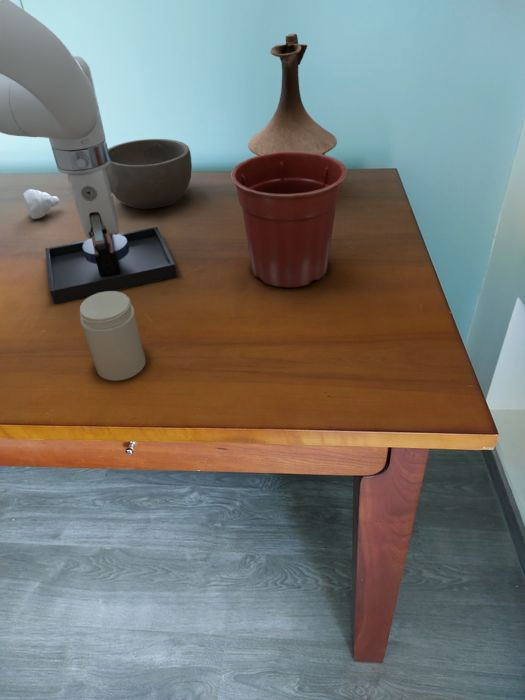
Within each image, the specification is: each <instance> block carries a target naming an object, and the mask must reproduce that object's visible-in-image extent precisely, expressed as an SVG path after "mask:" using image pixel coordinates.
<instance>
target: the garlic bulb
mask: <svg viewBox="0 0 525 700" xmlns="http://www.w3.org/2000/svg"><path fill="white" fill-rule="evenodd" d="M22 196H23V199H24V203H25V205H26V208H27V211H28V213H29V216H30V217H31V219H33V220H37V219H41V218H43V217H44V216H46V215H48V213H49V212H50V211H51V210H52V208H54V207H55V206H57V205H59V203H60V199H59V197H58V196H56V195H53V196H52V195H51V194H49V193H48V192H44V191H40V190H38V189H31V188H29V189H27V190H26V191H25V192H24V193H22Z"/></svg>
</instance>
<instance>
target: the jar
mask: <svg viewBox="0 0 525 700" xmlns="http://www.w3.org/2000/svg"><path fill="white" fill-rule="evenodd" d="M79 316H80V324H81V327H82V331H83V334H84V337H85V340H86V343H87V346H88V349H89V352H90V354H91V358H92V362H93V365H94V368H95V371H96V373H97V374H98V376H99V377H100V378H102V379H104V380H106V381H114V382H116V381H117V382H118V381H123V380H128V379H131V378H132V377H135V376H136V375H138V374H139V373H141V372H142V370H143V369H144V367H145V366H146V362H147V358H146V354H145V349H144V345H143V342H142V341H143V340H142V337H141V333H140V329H139V325H138V324H139V323H138V321H137V316H136V311H135V308H134V306H133V305H132V304H131V298H130V297H129V296H128V295H126V294H125V293H123V292H121V291H118V290H114V291H105V292H100V293H97V294H94V295H92V296H87V297H86V298H85V299H84V300H83V301H82V302H81V304H80V306H79Z"/></svg>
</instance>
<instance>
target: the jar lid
mask: <svg viewBox="0 0 525 700" xmlns="http://www.w3.org/2000/svg"><path fill="white" fill-rule="evenodd" d="M120 234H121V233H118V234H117V235H115V234H112V235H111V234H110V237H111V241H112V246H113V251H116V255H117V260H118V261H119V260H121V259H122V258H124V257H125V256H126V255H127V254H128V252H129V245H128V241H127V239H126V237H124V236H123V235H120ZM104 240H105V242H107V243H108V241H107V237H106V238H104ZM84 241H85V242H84V244H83V246H82V248H83V254H84V257H85V258H86V260H87V261H89V262H91V263H94V264H97V263H96V260H95V256H94V254H95V252H94V247H93V243H92V239H89V238H87V241H86V240H84Z"/></svg>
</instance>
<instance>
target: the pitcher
mask: <svg viewBox="0 0 525 700" xmlns="http://www.w3.org/2000/svg"><path fill="white" fill-rule="evenodd" d="M307 49H308V44H303V43H299V39H298V34H297V33H289V34H287V35H285V44H275V45H274V46H273V47H272V48H271V49H270V54H271V55H272V56H274V57H277V58H279V60H280V62H281V89H280V96H279V100H278V104H277V107H276V110H275V111H274V114H273V116H272V118H271V119H270V120H269V122H268V123H267V124H266V125H265V126H264V127H263V128H262V129H261V130H260V131H259V132H257V133H256V134H255V135H253V136H252V137H251V138H250V139H249V141H248V144H247V147H248V150H249V151H250V152H251V153H252V154H254V155H256V156H259V155H263V154H267V153H274V152H284V151H302V152H312V153H319V154H323V155H326V153H329V152H330V151H332V150H333V149H335V148H336V146H337V144H338V140H337V138H336V136H335V135H334V134H333V133H331V132H330V131H328V130H327V129H326V128H324V127H323V126H321V125H320V124H319V123H317V122H316V121H315V120H314V119H313V118H312V117H311V116H310V114H309V113H308V111H307V110H306V108H305V106H304V103H303V101H302V97H301V91H300V79H299V78H300V77H299V66H300V65H301V63H302V60H303V58H304V56H305V53H306V51H307Z"/></svg>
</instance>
